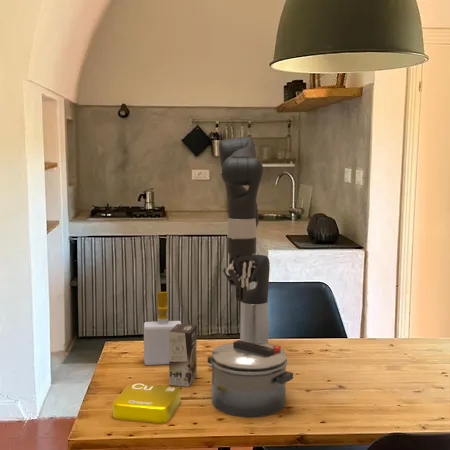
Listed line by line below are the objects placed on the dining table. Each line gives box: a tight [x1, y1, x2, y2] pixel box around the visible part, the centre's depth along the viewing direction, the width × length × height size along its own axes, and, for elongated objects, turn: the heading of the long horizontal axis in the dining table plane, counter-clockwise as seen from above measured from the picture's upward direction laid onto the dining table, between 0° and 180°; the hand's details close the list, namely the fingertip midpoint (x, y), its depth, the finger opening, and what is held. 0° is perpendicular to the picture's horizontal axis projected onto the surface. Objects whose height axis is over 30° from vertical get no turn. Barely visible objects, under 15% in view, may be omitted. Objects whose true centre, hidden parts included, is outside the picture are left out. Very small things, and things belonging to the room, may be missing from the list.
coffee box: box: [168, 323, 198, 388], centre depth 179 cm, size 9×6×16 cm
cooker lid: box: [211, 339, 287, 370], centre depth 164 cm, size 20×20×3 cm
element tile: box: [112, 382, 182, 424], centre depth 160 cm, size 15×15×5 cm
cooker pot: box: [207, 355, 294, 418], centre depth 165 cm, size 22×25×12 cm
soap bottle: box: [143, 291, 182, 366], centre depth 195 cm, size 12×7×23 cm, turn 99°
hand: (241, 300), depth 159 cm, fingers closed
